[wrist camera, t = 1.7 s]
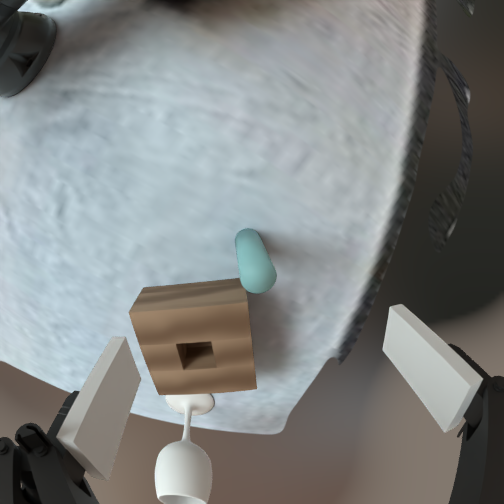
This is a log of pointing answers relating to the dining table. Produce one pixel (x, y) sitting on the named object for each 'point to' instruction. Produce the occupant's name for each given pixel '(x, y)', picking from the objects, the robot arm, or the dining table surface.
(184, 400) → the wineglass
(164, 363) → the socket block
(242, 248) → the dowel
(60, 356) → the dining table surface
